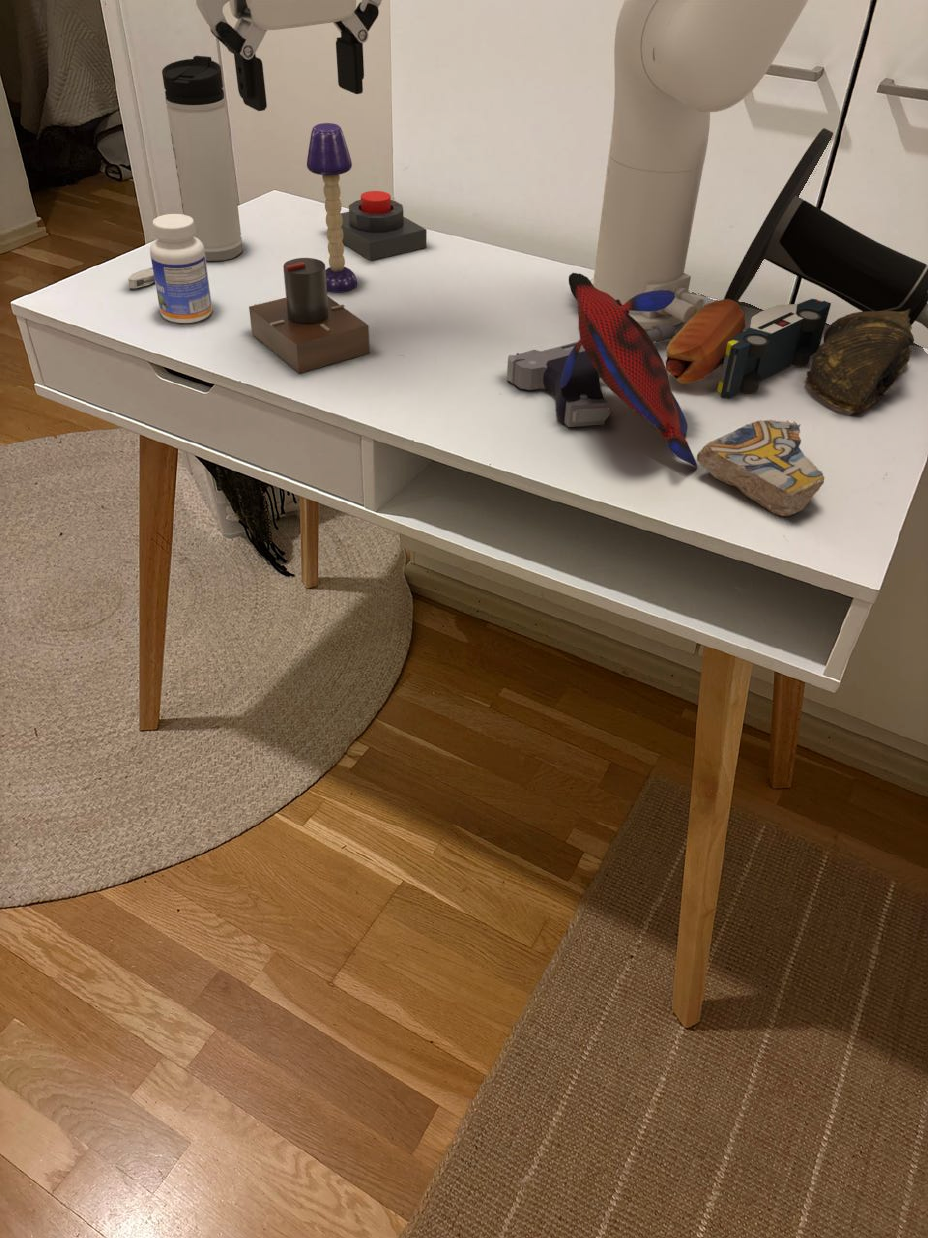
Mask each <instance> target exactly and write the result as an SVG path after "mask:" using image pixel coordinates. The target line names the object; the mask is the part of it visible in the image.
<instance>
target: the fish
mask: <svg viewBox="0 0 928 1238" xmlns="http://www.w3.org/2000/svg"><path fill="white" fill-rule="evenodd" d="M590 280H591V279H589V278H588V277H587V276H586V275H583V274H582V273H577V272H572V273H570V274H569V275H568V285H569V289H570V292H571V293H572V295H573V297H574V298H575V300H576V303H577V302H578V304H577V311H578V312H577V313H578V314H577V315H578V333H579V339H578V340H577V341H576V342H577V344H576V345H575V346H574V348H573V349H572V351H571V352H570V354H569V356H568V357H567V360H566V362H565V365H564V368H563V371H562V376H561V384H560V387H561V388H563V387H565V386H566V385H567V383H568V381H569V379H570V377H571V374H572V371H573V368H574V365H575V362H576V359H577V356H578V353H579V350H580V348H581V345H582V346H583V348H584V349H585V351H586V353H587V355H588V357H589V358H590V360H591V362H592V364H593V365H594V367H595V369H596V370H597V372H598V374H599V375H600V379H601V380H602V381H603V383H604V384H605V385H606V386H607V388H609V390H610V391H611V392H612V393H613V394H614V395H615V396H616V397H617V398H619V399H620V400H621V401H622V402H623V403H624V404H626V406H627V407H629V408H630V409H632V411H634V412H635V413H637V414H638V415H640V416H641V417H643V418H644V419H645V420H646V421H647V422H649V423H651V424H652V425H653V426H654V427H655V428H656V429H657V430H658V431H659V433H660V434H661V435H662V437H663V439H664V440H665V441H666V442H667V447H668V448H669V450H670V451H671V453H672V454H673V455H674V456H675V457H677V458H679V460H682V461H684V462H686V463H688V464H690V465H691V466H693V467H695V468H698V464H697V459H696V458H695V456H694V454H693V452H692V449H691V447H690V445H689V442H688V441H687V440H686V438H685V437H684V435H685V434H686V433H687V431H688V428H689V427H688V421H687V419H686V416H685V414H684V412H683V410H682V408H681V406H680V404H679V402H678V401H677V398H676V397H675V395H674V393H673V392H672V389H671V383H670V377H669V372H668V371H667V370H666V364H665V363H664V360H663V358H662V356H661V354H660V353H659V351H658V349H657V347H656V345H655V342H652V340H651V339H650V337H649V336H648V334H647V332H646V331H647V330H644V329H643V328H642V326H641V325H640V324H639V323H638V322H637V321H636V320H635V319H634V318H632V317H631V316H630V315H629V310H630V311H646V312H650V311H658V310H661V309H664V308H666V307H667V306H668V305H670V304H671V303H672V301H673V300H674V298H675V294H674V292H672V291H670V290H657V291H650V292H645V293H641V294H638V295H636V296H635V297H633V298H631V299H630V300H629V301H627V302H626V303H625V304H623V303H622V302H621V301H620V300H618V299H617V300H615V299H614V298H613V297H611V296H610V295H609V294H608V293H605V292H603V291H600V290H598V289H596V288H595V287H594V286H593V284H592V283H591V281H590Z"/></svg>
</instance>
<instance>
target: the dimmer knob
mask: <svg viewBox="0 0 928 1238" xmlns="http://www.w3.org/2000/svg"><path fill="white" fill-rule="evenodd" d="M282 267H283V279H284V289H285V298H286V302H287V313H288V318H289V319H290V320H292V321H294V322H297V323H302V324H312V323H318V322H321V321H323V320H325V319H326V318H327V317H328V301H327V296H328V291H327V285H326V269H327V268H326V263H324V262H323V260H320V259H318V258H314V257H313V258H312V257H297V258H293V259H289V260H288V261H286V262H285V263H284V264H283V265H282Z"/></svg>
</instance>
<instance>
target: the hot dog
mask: <svg viewBox="0 0 928 1238" xmlns="http://www.w3.org/2000/svg"><path fill="white" fill-rule="evenodd" d="M745 315H746V314H745V312H744V310H743V309H742V308H741V306H740V304H739V303H738V302H736V301H733V300H730V299H724V298H723V299H718V300H715V301H712V302H709V303H707V304H704V305H703V307H702V308H701V309H700V310H699V311H697V312H696V313H695V314H694V316H693V317H692V318H691V319H690V320H689V321H688V322H687V323H684V326H682V328H681V329H680V330H679V331H678V332H677V333H676V334H675V336H674V337H673V338H672V339H670V340H671V341H669V343H668V345H667V348H666V359H665V368H666V370H667V373H668V374H669V375H670V376H672V377H673V378H675V379H676V380H677V381H678V382H679V383H680V384H692V383H695V382H699V381H701V380H704V379H705V378H707V377H708V376H709V375H710V374H713V373H714V372H715V371H716V370H718V369H719V368H720V367H722V365H723V361H724V356H725V351H726V347H727V342H728V341H729V340H730V339H732V338H733V337H734V336H736V335H738V334H739V333H741V332H743V331H744V330H745V328H746V317H745Z"/></svg>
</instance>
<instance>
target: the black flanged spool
mask: <svg viewBox="0 0 928 1238" xmlns="http://www.w3.org/2000/svg"><path fill="white" fill-rule="evenodd" d="M832 136H833V137H834V132H833V131H831V130H829V129H827V128H826V127H823V128H822V129H821V130H820V131H819V133H817V135H816V136H815V137H814V139H813V140H812V142H811V143H810V145H809V146H808V148H807V149H806V151H805V152H804V154H803V155H802V157H801V159H800V160H799V161H798V163H797V165H796V167H795V168H794V169H793V171H792V173H791V175H790V176H789V178H788V180H787V181H786V182H785V185H784V186H783V188H782V190H781V191H780V193H779V194H778V196H777V198H776V200H774V203H773V205H772V206H771V208H770V210H769V212H768V213H767V215H766V217H765V219H764V220H763V222H762V224H761V226H760V227H759V229H758V231H757V232H756V234H755V236H754V238H753V240H752V242H751V244H750V245H749V248H748V249H747V250H746V253H745V254H744V256H743V259H742V260H741V262H740V264H739V266H738V268H737V270H736V272H735V273H734V275H733V278H732V280H731V282H730V283H729V285H728V288H727V290H726V293H725V294H724V297H723V300H724V299H730V300H733V301H736V302H737V303H738V302H739V300H740V299H741V298H742V296H743V294H744V293H745V292H746V290H747V289H748V288H749V286H750V284H751V283H752V281H753V279H754V278H755V276H756V275H757V273H758V271H759V270H760V268H761V267H760V265H761V263H762V261H763V260H764V259H765V260H766V261H767V262H770V263H771V264H772V265H773V264H774V265H775V266H777V267H779V268H780V269H782V270H785V271H787V272H789V273H791V274H793V275H794V276H796V277H799V278H800V279H803V280H804V281H807V282H809V283H812V284H813V285H816V286H817V287H820V288H821V289H824V290H825V291H827V292H829V293H831V294H833V295H835V296H837V298H839V299H841V300H842V301H844V302H846V303H847V304H849V305H850V306H852V307H854V308H855V309H857V310H859V311H860V312H867V311H896V312H904V311H906V310H908V309H911V310H910V313H909V318H910V320H909V323H910V326H912V325H913V324H914V323H915V322H917V323H919V324H921V325H922V326H924V327H925V328H926V329H927V330H928V264H927V263H924V262H922V261H920V260H917V259H916V258H913V257H910V256H909V255H906V254H903V253H902V252H899V251H897V250H895V249H893V248H891V247H889V246H886V245H884V244H883V243H880V242H878V241H876V240H874V239H873V238H871V237H869V236H868V235H865V234H864V233H861V232H859V231H857V230H856V229H854V228H853V227H851V226H849V225H848V224H846V223H844V222H842V221H841V220H839V219H837V218H836V217H834V216H832V215H830V214H829V213H827V212H826V211H823V210H822V209H821V208H819V207H817V206H815V205H814V204H812V203H811V202H809V201H807V200H804V199H803V198H802V197H801V198H799V195H800V193H801V191H802V190H803V188H804V186H805V184H806V183H807V181H808V179H809V177H810V175H811V174H812V172H813V170H814V168H815V166H816V165H817V163H818V161H819V159H820V157H821V156H822V154H823V152H824V150H825V149H826V147H827V145H828V143H829V141H830V140H831V141H832V139H833V137H832ZM831 138H832V139H831ZM831 141H830V142H831ZM765 260H764V261H765ZM762 264H763V263H762ZM761 266H762V265H761ZM759 267H760V268H759ZM758 269H759V270H758ZM757 270H758V271H757ZM756 272H757V273H756ZM755 274H756V275H755Z"/></svg>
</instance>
